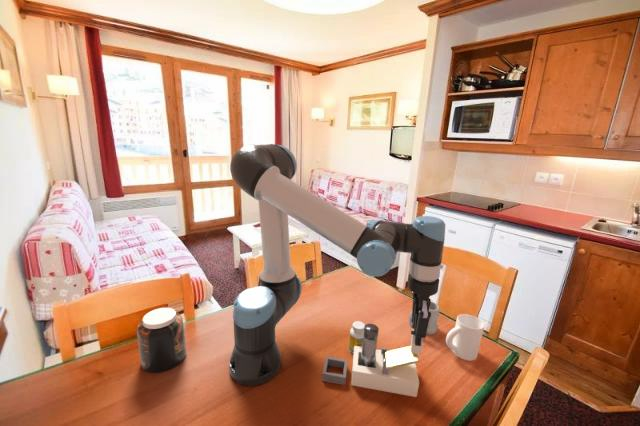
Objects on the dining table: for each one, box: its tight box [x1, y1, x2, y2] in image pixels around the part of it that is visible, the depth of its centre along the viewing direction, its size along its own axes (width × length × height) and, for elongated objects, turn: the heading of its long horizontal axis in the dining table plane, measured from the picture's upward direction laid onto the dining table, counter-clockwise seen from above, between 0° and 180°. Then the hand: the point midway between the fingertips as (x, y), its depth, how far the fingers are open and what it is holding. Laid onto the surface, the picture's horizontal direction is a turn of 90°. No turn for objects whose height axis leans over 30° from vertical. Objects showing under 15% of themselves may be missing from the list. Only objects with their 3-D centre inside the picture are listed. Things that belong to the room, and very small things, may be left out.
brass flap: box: [383, 345, 420, 369], centre depth 81 cm, size 10×6×1 cm, turn 80°
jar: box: [136, 307, 187, 374], centre depth 84 cm, size 12×12×15 cm
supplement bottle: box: [348, 320, 366, 355], centre depth 93 cm, size 5×5×10 cm
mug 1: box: [408, 301, 440, 336], centre depth 104 cm, size 8×12×12 cm, turn 105°
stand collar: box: [321, 356, 348, 386], centre depth 84 cm, size 7×7×2 cm
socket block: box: [350, 346, 420, 398], centre depth 83 cm, size 18×10×7 cm, turn 80°
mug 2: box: [445, 313, 485, 362], centre depth 93 cm, size 8×12×12 cm
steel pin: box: [360, 323, 379, 368], centre depth 82 cm, size 4×4×16 cm
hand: (415, 351), depth 80 cm, fingers closed
